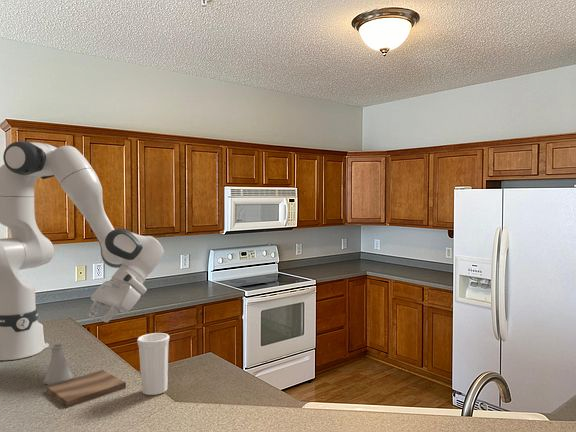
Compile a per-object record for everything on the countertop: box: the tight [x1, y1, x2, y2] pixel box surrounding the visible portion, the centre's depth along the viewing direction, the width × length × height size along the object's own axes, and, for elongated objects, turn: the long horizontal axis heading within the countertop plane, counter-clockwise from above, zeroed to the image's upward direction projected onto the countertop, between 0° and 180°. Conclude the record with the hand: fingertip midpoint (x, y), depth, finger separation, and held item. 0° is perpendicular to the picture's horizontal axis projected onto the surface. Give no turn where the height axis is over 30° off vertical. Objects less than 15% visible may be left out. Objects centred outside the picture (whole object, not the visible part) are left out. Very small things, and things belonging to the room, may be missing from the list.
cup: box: [136, 332, 170, 396], centre depth 116 cm, size 8×8×14 cm
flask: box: [42, 343, 74, 386], centre depth 124 cm, size 7×7×10 cm
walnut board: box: [46, 369, 127, 408], centre depth 118 cm, size 14×15×2 cm
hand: (96, 318), depth 133 cm, fingers open, 8 cm apart
